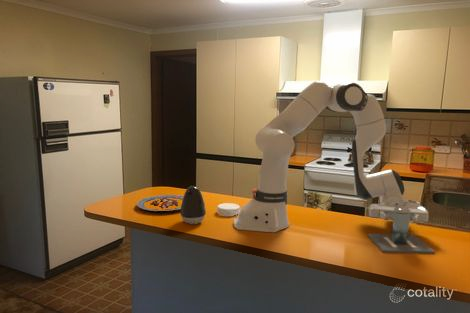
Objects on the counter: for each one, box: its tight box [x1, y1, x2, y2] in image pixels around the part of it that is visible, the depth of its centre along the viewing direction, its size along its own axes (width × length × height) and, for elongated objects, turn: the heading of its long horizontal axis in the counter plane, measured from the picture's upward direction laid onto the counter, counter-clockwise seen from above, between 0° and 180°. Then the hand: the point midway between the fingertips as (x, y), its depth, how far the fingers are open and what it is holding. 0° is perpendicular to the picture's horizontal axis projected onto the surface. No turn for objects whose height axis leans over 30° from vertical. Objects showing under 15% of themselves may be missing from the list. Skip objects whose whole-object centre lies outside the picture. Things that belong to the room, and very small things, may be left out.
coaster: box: [216, 202, 241, 217], centre depth 161 cm, size 10×10×4 cm
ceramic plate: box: [136, 194, 184, 212], centre depth 170 cm, size 26×26×3 cm
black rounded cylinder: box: [179, 185, 207, 225], centre depth 147 cm, size 10×10×15 cm
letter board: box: [367, 233, 436, 255], centre depth 128 cm, size 17×15×1 cm
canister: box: [391, 207, 410, 245], centre depth 127 cm, size 5×5×12 cm
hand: (400, 219), depth 128 cm, fingers open, 8 cm apart
